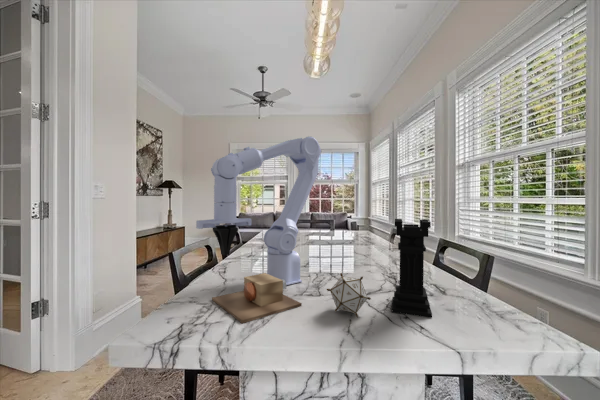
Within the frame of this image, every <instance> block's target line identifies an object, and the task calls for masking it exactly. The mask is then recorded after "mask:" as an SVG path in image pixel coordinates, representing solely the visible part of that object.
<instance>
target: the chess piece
mask: <svg viewBox="0 0 600 400" xmlns="http://www.w3.org/2000/svg"><path fill="white" fill-rule="evenodd" d="M431 222H432V221H429V219H419V224H413V223H411V224H410V223H409V224H408V223H407V224H406V223H404V224H403V219H402V218H394V228H396V233H395V234H396V236H399V242H398V243H397V245H398V246H397V250H398V251H399V285H398V284H396V285H395V290H394V291H393V293H394V294H393V296H392V303H391V313H392V314H399V315H409V316H415V317H423V318H431V319H432V318H433V312H432V310H431V305H430V301H429V297H428V293H427V291H426V290H427V289H426V287H424V265H425V264H424V262H425V261H424V258H425V257H424V256H425V255H424V253H425V252H427V247H426V245H425V243H424V242H425V239H424V238H429V229H430V228H432V227H431V225H432V224H431Z"/></svg>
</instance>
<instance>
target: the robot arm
mask: <svg viewBox="0 0 600 400" xmlns="http://www.w3.org/2000/svg"><path fill="white" fill-rule="evenodd" d="M321 154H322V149H321V146H320V143H319V141H318V139H316V138H315V137H314V136H309V135H308V136H306V137H304V138H303V137H299V138H294V139H290V140H288V139H287V140H285V141H283V142H280V143H277V144H275V145H271V146H269V147H265V148H263V149H257V148H255V147H250V146H247V147H244V148H243V150H241V151H238V152H234V153H233V152H229V153H228V154H226V155H225V156H222V157H220V158H217V159H216V160H215V161H214V162H213V163H212V167H211V168H210V171H211V174H212V176H213V178H214V185H213V219H203V220H202V219H200V220H198V219H197V220H195V221H196V222H195V223H196V224H195V225H196V227H195V228H196V229H198V230H200V229H201V230H202V229H210V228H212V231H213V233H214V235H215V237H216V240H217V242H218V245H219V249H220V253H221V255H223V256H229V255H230V253H231V248H232V245H233V241H234V240H235V239H234V238H236V235H237V233H238V231H239V227H241V226H243V227H244V226H249V227H250V226H252V224H253V223H252V221H253V219H252V218H249V217H248V218H247V217H243V218H242V217H241V218H237V193H238V192H237V189H238V187H237V177H238V176H239V175H242V174H245V173H248V172H251V171H254V170H257V169H259V168H261V167H262V164H263V163H264V162H265V161H267V160H271V159H273V158H277V157H279V156H285V157H287V158H288V157H289V159H291V161H292V162H293V164H294V165H295V167H296V168H297V170H298V175H297V178H296V179H295V182H294V184H293V187H292V189H291V191H290V193H289V194H288V195H289V196H288V197H287V199H286V202H285V204H284V206H283V207H282V211H281V213H280V215H279V217H278V218H277V219H276V220H275V221H274V222H272V225H271V226H270V227H269V228H268V229H267V230H266V232H265V233H264V234H263V235H264V236H263V242H264V245H265V246H266V248H267V252H266V253H267V254H266V256H267V257H266V265H267V267H266V270H267V271H266V274H269V275H271V276H274V277H276V278H278V279H284V280H285V282H286V286H288V285H294V284H298V283H302V279H301V257H300V255H299V253H298V252H297V251H296V250H295V247H296V246H297V237H298V234H299V229H298V226H297V224H298V223H297V222H298V221H299V218H300V216H301V214H302V212H303V210H304V207H305V204H306V202H307V200H308V198H309V195H310V193H311V191H312V188H313V186H314V184H315V182H316V179H317V176H318V174H319V167H320V166H319V165H320V164H319V163H320V160H319V159H320V157H321Z"/></svg>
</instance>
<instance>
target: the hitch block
mask: <svg viewBox="0 0 600 400" xmlns="http://www.w3.org/2000/svg"><path fill="white" fill-rule="evenodd" d="M243 281H244V282H243V286H244V285H245V284H246V283H248V282H252V283H253V284H254V285H255V288H256V298H255V300H253V301H247V299H246V298H245V295H244V290H240V291H236V292H231V293H227V294H222V295H217V296H213V297H212V298H211V301H213V302H214V303H215V304H217V306H219V307H220V308H222V309H223V310H224V311H225V312H227V313H228V314H229V315H230V316H231V317H234V318H235V320H237V321H238V322H240V323H241V324H244V323H248V322H252V321H255V320H258V319H262V318H265V317H268V316H273V315H275V314H276V315H277V314H279V313H282V312H286V311H288V310H292V309H295V308H299V307H302V306H303V305H302V303H303V302H300V301H298V300H295V299H293V298H292V297H289V296H288V295H285V294H284V289H283V280H281V279H278V278H276V277H274V276H271V275H269V274H267V272H264V273H259V274H254V275H253V274H252V275H247V276H243Z"/></svg>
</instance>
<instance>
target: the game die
mask: <svg viewBox="0 0 600 400" xmlns="http://www.w3.org/2000/svg"><path fill="white" fill-rule="evenodd" d="M363 279H364V275H362V276H360V278H356V277H349V276H344V275H343V273H342V272H340V278H339V279H338V280H337V281H336V282H335V284H333V286H332V287H331V288H326V290H327V292H330V294H331V297H332V299H333V302H334V304H335V307H336V308H335V309H334V312H338V310H340V311H342V312H343V311H344V312H348V313H352V314H355V317H356V318H358V316H359V314H358V311H360V309H361V308H362V306H363V305H364V304H365V302H366V301H367V300H368V301H370V300H372V298H371V297H370V296H368V295H367V293H366V290H365V288H364V285H363V282H362V280H363Z"/></svg>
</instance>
